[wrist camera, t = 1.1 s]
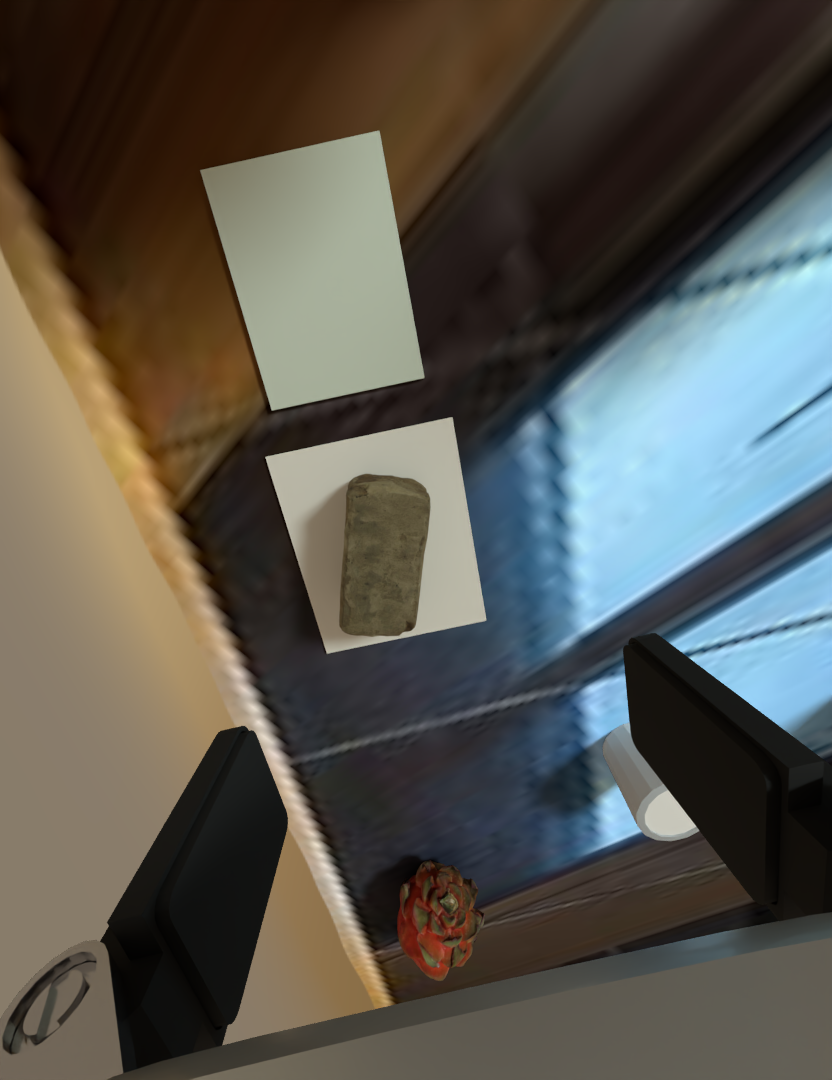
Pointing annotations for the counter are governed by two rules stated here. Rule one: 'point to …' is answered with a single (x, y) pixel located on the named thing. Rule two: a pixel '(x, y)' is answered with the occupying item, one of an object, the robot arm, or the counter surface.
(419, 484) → the stone block
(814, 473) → the counter surface
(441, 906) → the dragon fruit
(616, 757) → the white cylinder
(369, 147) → the pale green pad
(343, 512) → the tile
